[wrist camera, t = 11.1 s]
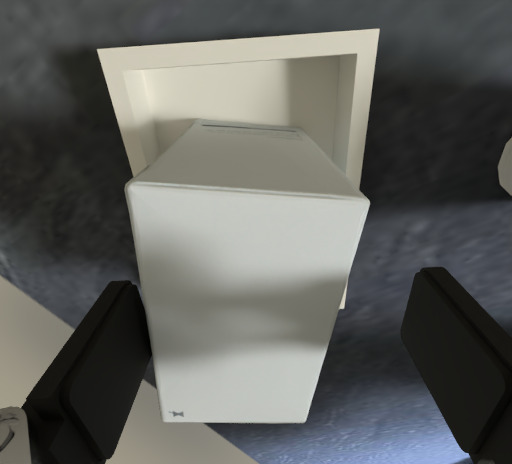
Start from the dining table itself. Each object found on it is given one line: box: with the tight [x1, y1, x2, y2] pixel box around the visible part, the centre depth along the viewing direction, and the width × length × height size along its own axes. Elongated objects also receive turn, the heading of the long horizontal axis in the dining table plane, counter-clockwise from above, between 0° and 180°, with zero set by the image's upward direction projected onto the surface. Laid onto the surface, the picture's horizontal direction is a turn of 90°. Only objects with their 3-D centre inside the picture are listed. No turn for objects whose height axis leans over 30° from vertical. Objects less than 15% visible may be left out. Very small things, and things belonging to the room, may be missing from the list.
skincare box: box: [124, 119, 370, 423], centre depth 14 cm, size 10×6×10 cm, turn 176°
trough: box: [97, 29, 379, 309], centre depth 17 cm, size 12×16×4 cm
